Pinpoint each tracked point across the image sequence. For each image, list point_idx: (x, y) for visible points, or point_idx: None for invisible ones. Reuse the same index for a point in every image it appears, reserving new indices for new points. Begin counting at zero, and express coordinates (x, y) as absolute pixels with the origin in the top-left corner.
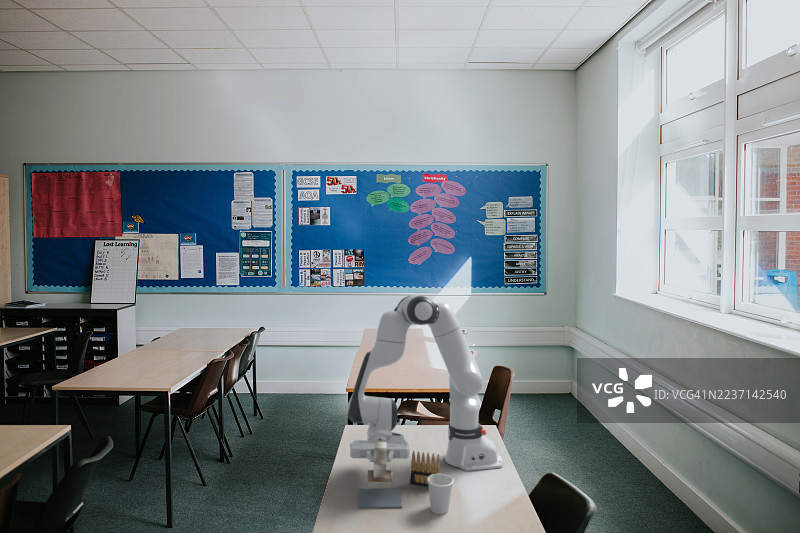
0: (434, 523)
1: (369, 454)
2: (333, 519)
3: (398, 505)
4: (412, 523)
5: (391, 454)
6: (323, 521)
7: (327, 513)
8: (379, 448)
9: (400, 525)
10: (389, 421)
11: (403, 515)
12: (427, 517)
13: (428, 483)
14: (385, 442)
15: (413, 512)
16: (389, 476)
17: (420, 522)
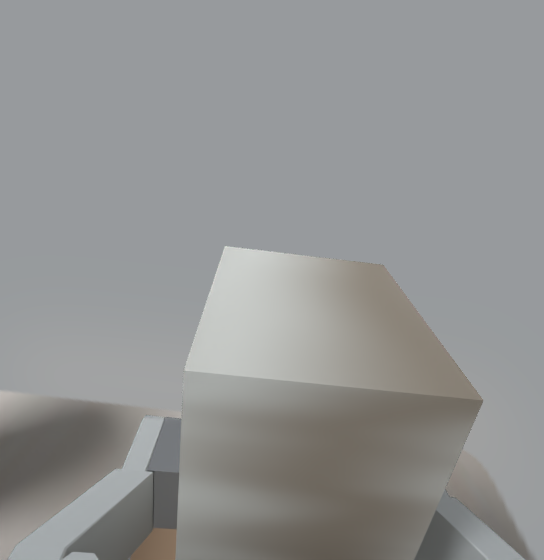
0: (15, 409)
1: (458, 504)
2: (453, 484)
3: None
4: (111, 420)
5: (96, 483)
6: (487, 474)
7: (511, 537)
8: (318, 264)
9: (167, 415)
10: None
11: None
12: (11, 450)
13: None
14: (212, 349)
15: (55, 499)
16: (160, 544)
17: (72, 421)
